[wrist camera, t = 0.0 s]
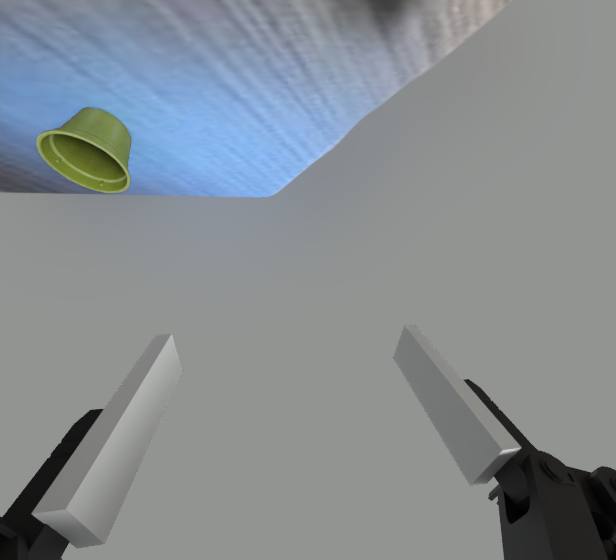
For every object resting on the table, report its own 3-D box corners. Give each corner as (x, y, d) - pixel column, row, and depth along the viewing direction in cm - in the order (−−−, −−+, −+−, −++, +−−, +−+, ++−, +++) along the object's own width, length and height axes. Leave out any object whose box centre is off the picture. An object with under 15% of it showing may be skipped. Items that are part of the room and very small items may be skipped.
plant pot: (155, 136, 36) (142, 173, 32) (129, 166, 40) (114, 202, 36) (77, 75, 28) (48, 114, 25) (55, 121, 33) (27, 159, 29)
